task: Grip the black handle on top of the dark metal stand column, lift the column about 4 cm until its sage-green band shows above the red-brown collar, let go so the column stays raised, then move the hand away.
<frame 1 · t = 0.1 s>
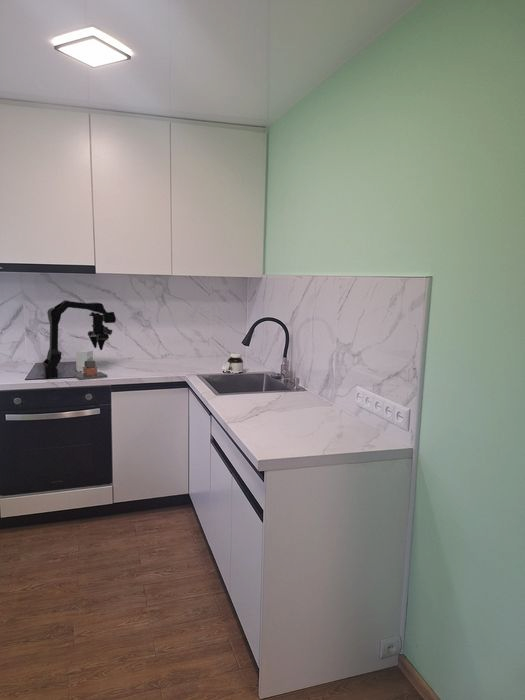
hand: (98, 348, 293), 15 cm above the worktop, tool pointing down, fingers open, 9 cm apart
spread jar: (232, 373, 309), on the worktop
stand base: (90, 377, 281), on the worktop
jack column: (90, 367, 280), point 6 cm above the worktop, slide at 0.0 cm
supplement box: (84, 371, 299), on the worktop
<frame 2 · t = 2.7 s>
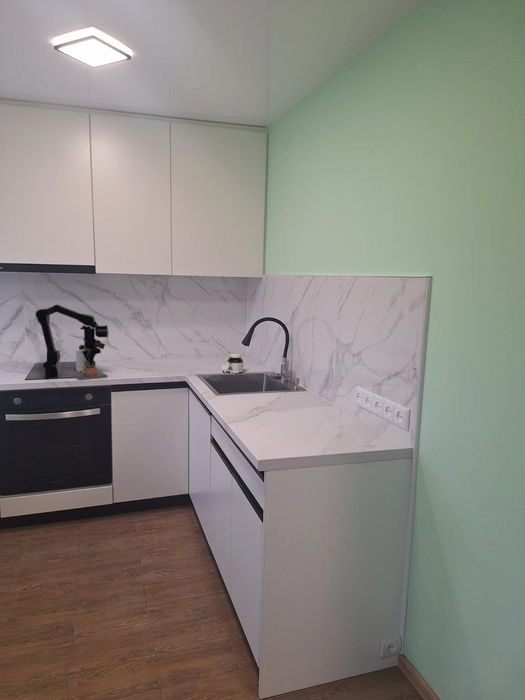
hand: (90, 363, 280), 8 cm above the worktop, tool pointing down, fingers closed on jack column, 4 cm apart
jack column: (90, 367, 280), point 6 cm above the worktop, slide at 0.0 cm, touching gripper
everything else where it was.
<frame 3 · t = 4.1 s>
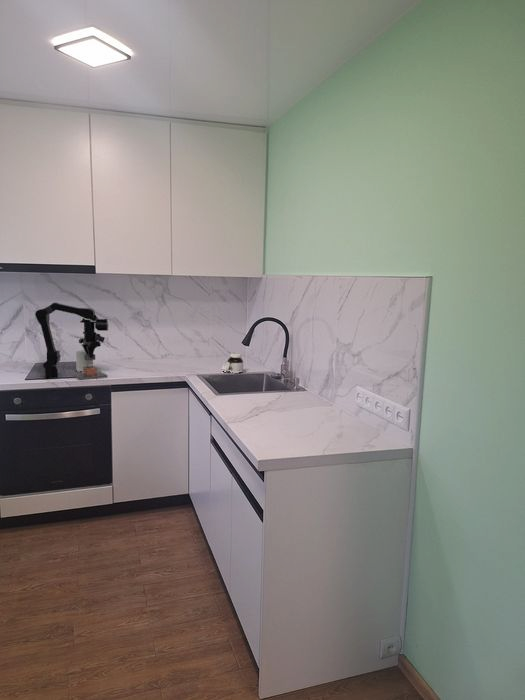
hand: (89, 357, 279), 12 cm above the worktop, tool pointing down, fingers closed on jack column, 4 cm apart
jack column: (89, 360, 280), point 10 cm above the worktop, slide at 3.9 cm, touching gripper
everything else where it was.
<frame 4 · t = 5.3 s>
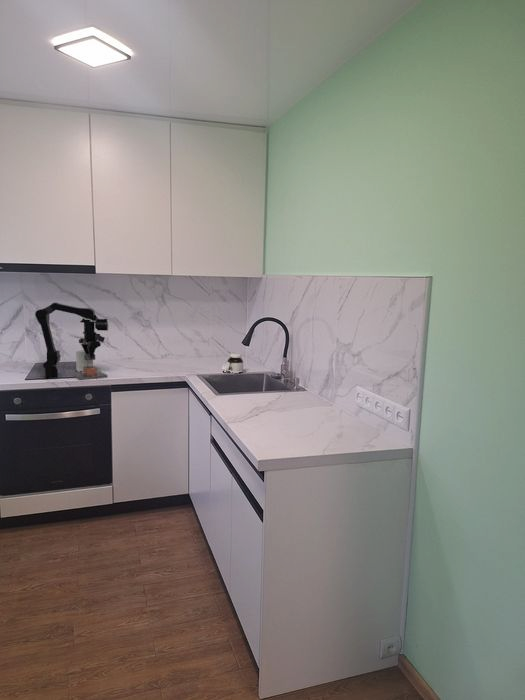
hand: (89, 356, 279), 12 cm above the worktop, tool pointing down, fingers open, 6 cm apart
jack column: (89, 360, 280), point 10 cm above the worktop, slide at 3.9 cm
everything else where it was.
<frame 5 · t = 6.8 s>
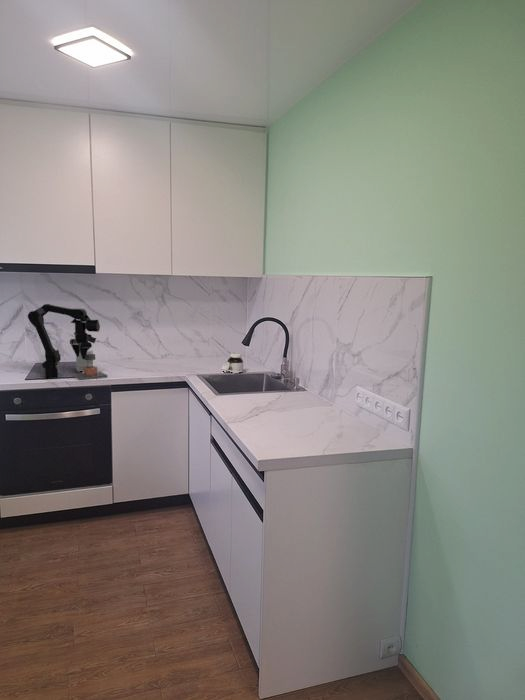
hand: (80, 357, 276), 12 cm above the worktop, tool pointing down, fingers open, 9 cm apart
nothing on the worktop moved.
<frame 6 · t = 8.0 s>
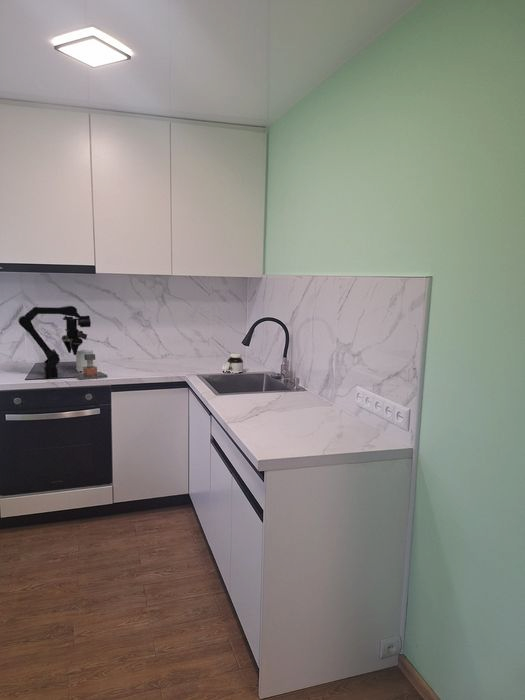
hand: (72, 353, 282), 13 cm above the worktop, tool pointing down, fingers open, 9 cm apart
nothing on the worktop moved.
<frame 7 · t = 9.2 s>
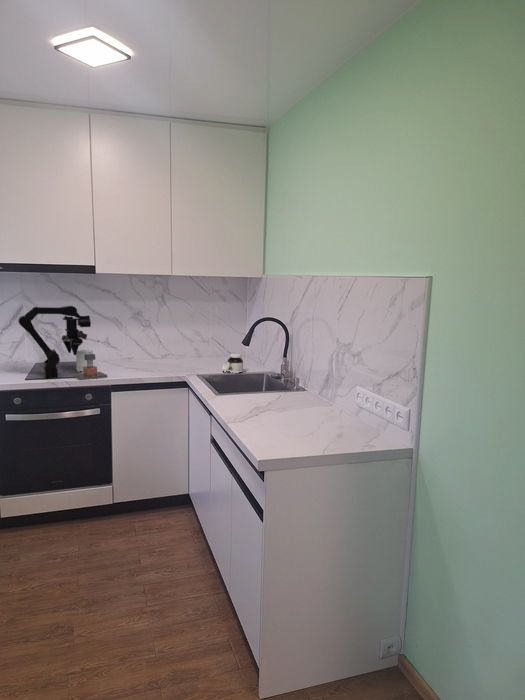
hand: (72, 353, 282), 13 cm above the worktop, tool pointing down, fingers open, 9 cm apart
nothing on the worktop moved.
at the end: jack column slide at 3.9 cm; the gripper is holding nothing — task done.
